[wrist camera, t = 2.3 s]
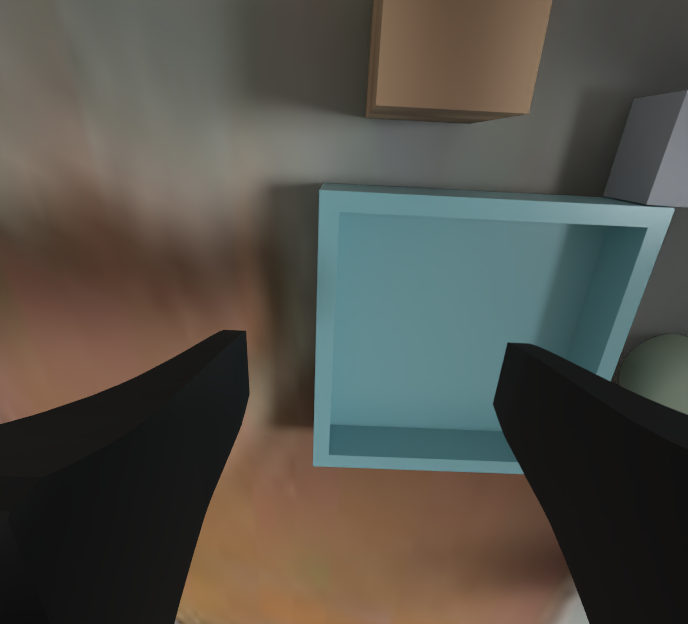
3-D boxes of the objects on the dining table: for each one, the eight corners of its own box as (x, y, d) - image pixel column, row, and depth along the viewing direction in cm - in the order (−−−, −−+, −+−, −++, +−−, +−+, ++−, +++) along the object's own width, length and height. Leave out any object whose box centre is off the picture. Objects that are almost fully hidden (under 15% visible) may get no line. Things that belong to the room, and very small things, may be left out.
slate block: (722, 105, 17) (796, 98, 14) (684, 201, 18) (744, 211, 16) (630, 98, 17) (687, 89, 14) (600, 195, 18) (646, 204, 16)
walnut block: (489, -5, 15) (571, -90, 10) (468, 123, 17) (528, 113, 11) (373, -12, 15) (390, -101, 10) (365, 117, 17) (375, 105, 11)
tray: (625, 198, 18) (675, 207, 15) (548, 437, 24) (575, 475, 21) (323, 182, 18) (319, 190, 15) (316, 428, 23) (313, 466, 21)
